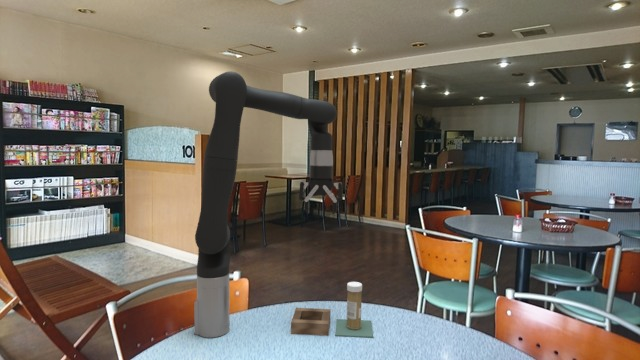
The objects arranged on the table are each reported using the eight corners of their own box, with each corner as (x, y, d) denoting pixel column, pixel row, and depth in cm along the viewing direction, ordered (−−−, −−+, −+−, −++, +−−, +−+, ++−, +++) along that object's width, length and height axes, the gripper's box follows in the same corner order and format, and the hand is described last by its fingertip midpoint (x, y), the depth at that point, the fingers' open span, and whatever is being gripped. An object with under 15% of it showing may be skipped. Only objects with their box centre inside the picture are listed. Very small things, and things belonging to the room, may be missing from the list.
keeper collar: (290, 333, 114) (290, 322, 114) (296, 318, 125) (296, 307, 125) (328, 335, 114) (328, 324, 113) (330, 319, 125) (330, 309, 124)
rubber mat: (335, 336, 113) (335, 334, 113) (336, 320, 124) (336, 319, 124) (373, 337, 113) (373, 336, 113) (371, 321, 124) (371, 320, 124)
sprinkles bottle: (364, 328, 118) (365, 284, 117) (352, 331, 116) (353, 287, 115) (354, 322, 122) (355, 280, 121) (343, 325, 119) (344, 282, 118)
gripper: (298, 164, 125) (297, 214, 126) (342, 165, 124) (342, 215, 125) (301, 163, 132) (300, 211, 134) (343, 164, 131) (342, 212, 132)
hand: (320, 213), depth 129 cm, fingers open, 8 cm apart
